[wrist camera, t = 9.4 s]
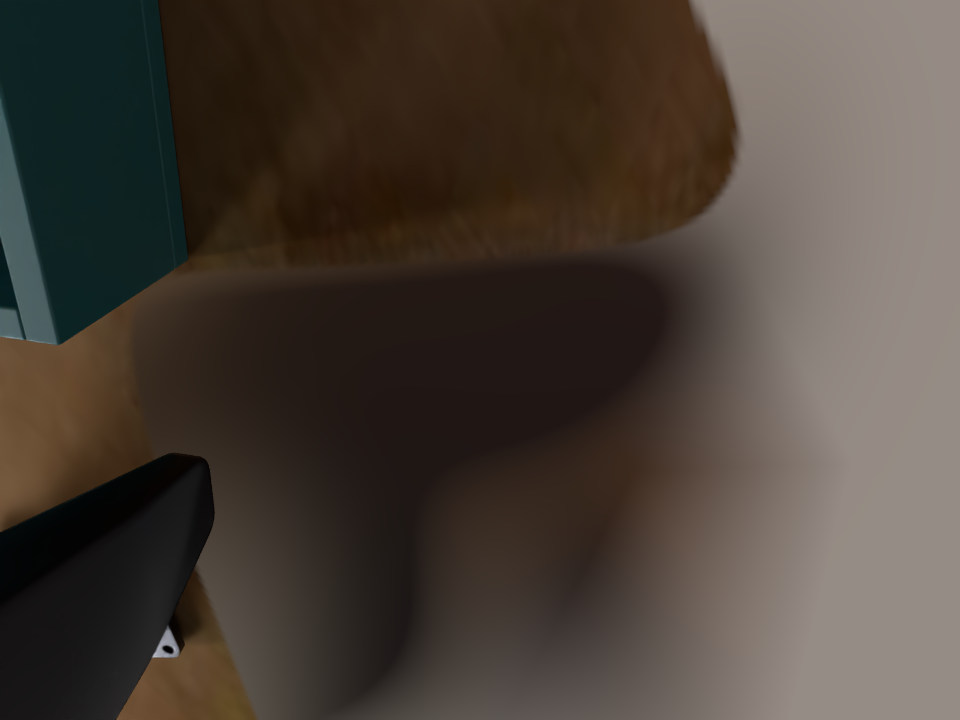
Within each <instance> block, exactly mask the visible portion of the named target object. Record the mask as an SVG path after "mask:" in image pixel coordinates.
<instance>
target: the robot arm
mask: <svg viewBox="0 0 960 720" xmlns="http://www.w3.org/2000/svg"><path fill="white" fill-rule="evenodd" d="M214 514H215V512H214V501H213V493H212V485H211V476H210V469H209V465H208V463H207V461H206V460H205V459H204V458H202V457H200V456H193V455H187V454H180V453H169V454H166V455H164V456H162V457H159V458H157V459H155V460H153V461H151V462H149V463H147V464H145V465H142V466H140V467H138V468H136V469H134V470H132V471H130V472H127V473H125V474H123V475H121V476H119V477H117V478H115V479H113V480H110V481H108V482H106V483H104V484H102V485H100V486H98V487H96V488H93V489H91V490H89V491H87V492H85V493H83V494H81V495H78V496H76V497H74V498H72V499H70V500H68V501H66V502H64V503H61V504H59V505H57V506H55V507H53V508H51V509H49V510H47V511H44V512H42V513H40V514H38V515H36V516H34V517H32V518H29V519H27V520H25V521H23V522H21V523H19V524H17V525H15V526H12V527H10V528H8V529H6V530H4V531H2V532H0V720H116V719H117V717H118V715H119V714H120V712H121V710H122V709H123V707H124V705H125V703H126V702H127V700H128V698H129V697H130V695H131V693H132V691H133V690H134V688H135V686H136V685H137V683H138V681H139V680H140V678H141V676H142V674H143V673H144V671H145V669H146V667H147V666H148V664H149V662H150V660H151V658H152V657H165V658H174V657H177V656H179V654H180V653H181V651H182V649H183V648H184V646H185V643H184V640H183V638H182V636H181V633H180V631H179V629H178V627H177V624H176V622H175V620H174V618H173V613H174V611H175V609H176V607H177V605H178V602H179V600H180V598H181V596H182V594H183V591H184V589H185V587H186V585H187V583H188V580H189V578H190V576H191V574H192V572H193V569H194V567H195V565H196V563H197V561H198V558H199V556H200V554H201V552H202V550H203V547H204V545H205V543H206V541H207V539H208V536H209V534H210V532H211V529H212V526H213V522H214Z"/></svg>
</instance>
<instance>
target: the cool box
mask: <svg viewBox="0 0 960 720" xmlns="http://www.w3.org/2000/svg"><path fill="white" fill-rule="evenodd" d="M187 260H188V253H187V245H186V236H185V228H184V219H183V211H182V202H181V194H180V185H179V176H178V168H177V159H176V151H175V142H174V134H173V125H172V116H171V108H170V99H169V91H168V82H167V74H166V65H165V57H164V48H163V39H162V31H161V22H160V14H159V5H158V0H0V337H7V338H14V339H20V340H26V339H27V340H28V341H33V342H40V343H47V344H54V345H60V344H62V343H64V342H65V341H67V340H68V339H70V338H71V337H73V336H74V335H76V334H77V333H79V332H80V331H82V330H83V329H85V328H86V327H88V326H89V325H91V324H92V323H94V322H95V321H97V320H98V319H100V318H101V317H103V316H104V315H106V314H107V313H109V312H111V311H112V310H114V309H115V308H117V307H118V306H120V305H121V304H123V303H124V302H126V301H127V300H129V299H130V298H132V297H133V296H135V295H136V294H138V293H139V292H141V291H142V290H144V289H145V288H147V287H148V286H150V285H151V284H153V283H155V282H156V281H158V280H159V279H161V278H162V277H164V276H165V275H167V274H168V273H170V272H171V271H173V270H174V268H177V267H178V266H180V265H181V264H183V263H184V262H186V261H187Z"/></svg>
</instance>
